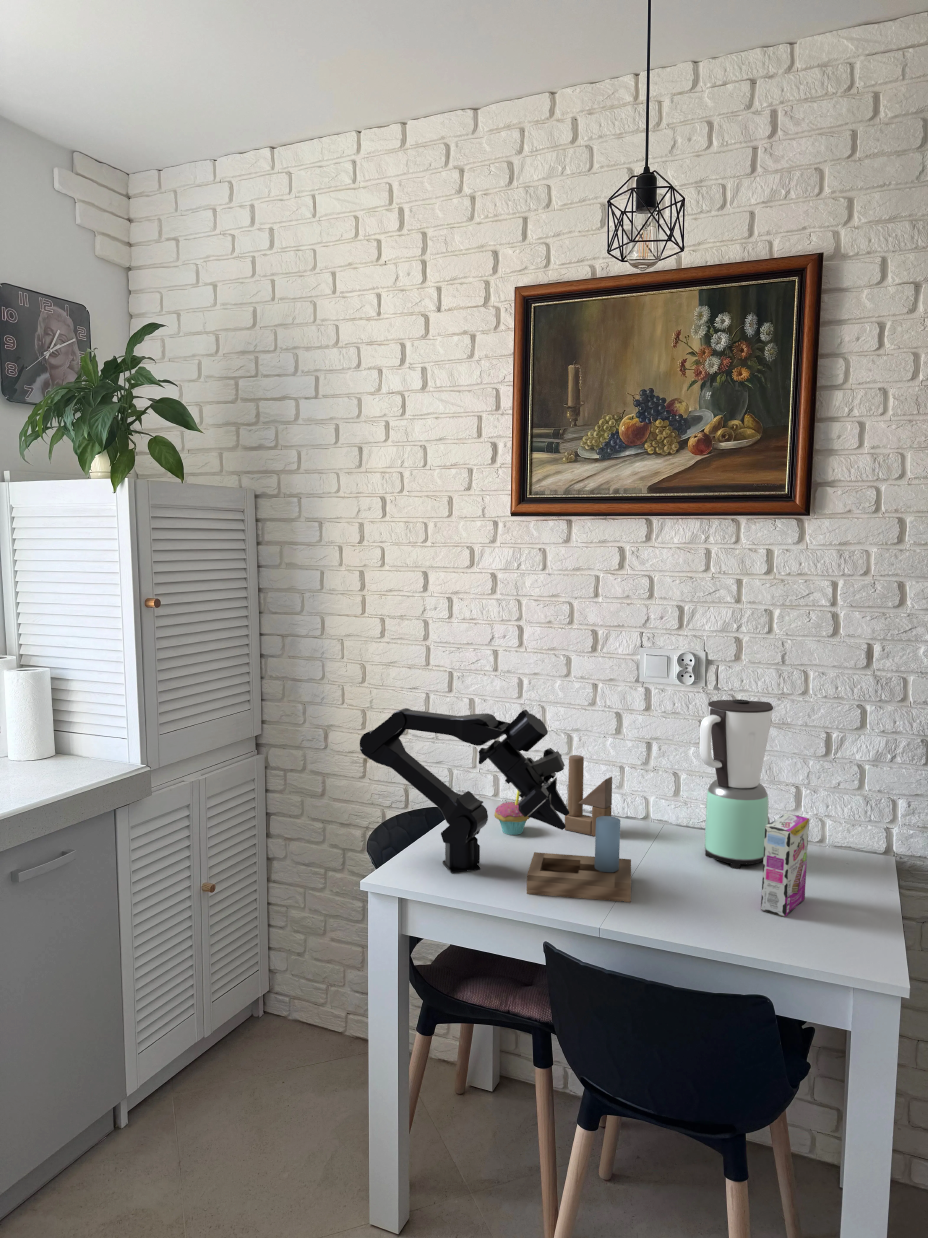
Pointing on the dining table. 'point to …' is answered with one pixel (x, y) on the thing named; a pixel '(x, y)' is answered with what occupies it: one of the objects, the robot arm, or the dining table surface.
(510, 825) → the cupcake
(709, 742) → the mint green blender
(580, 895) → the keyhole board
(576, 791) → the wooden block
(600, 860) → the keyhole stud
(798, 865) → the candy bar box
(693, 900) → the dining table surface
